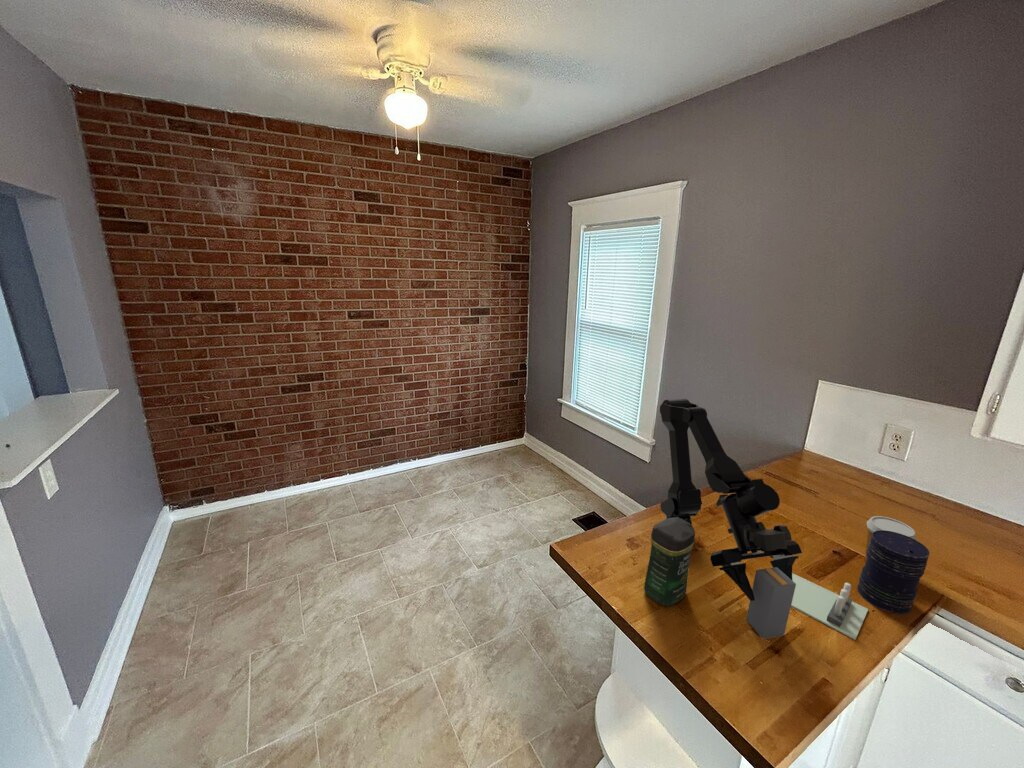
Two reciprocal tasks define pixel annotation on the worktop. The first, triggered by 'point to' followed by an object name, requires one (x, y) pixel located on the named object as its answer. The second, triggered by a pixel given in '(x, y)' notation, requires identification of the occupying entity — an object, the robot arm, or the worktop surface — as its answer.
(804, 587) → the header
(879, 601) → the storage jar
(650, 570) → the coffee jar
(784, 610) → the plug block
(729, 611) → the worktop surface
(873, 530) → the disposable coffee cup
